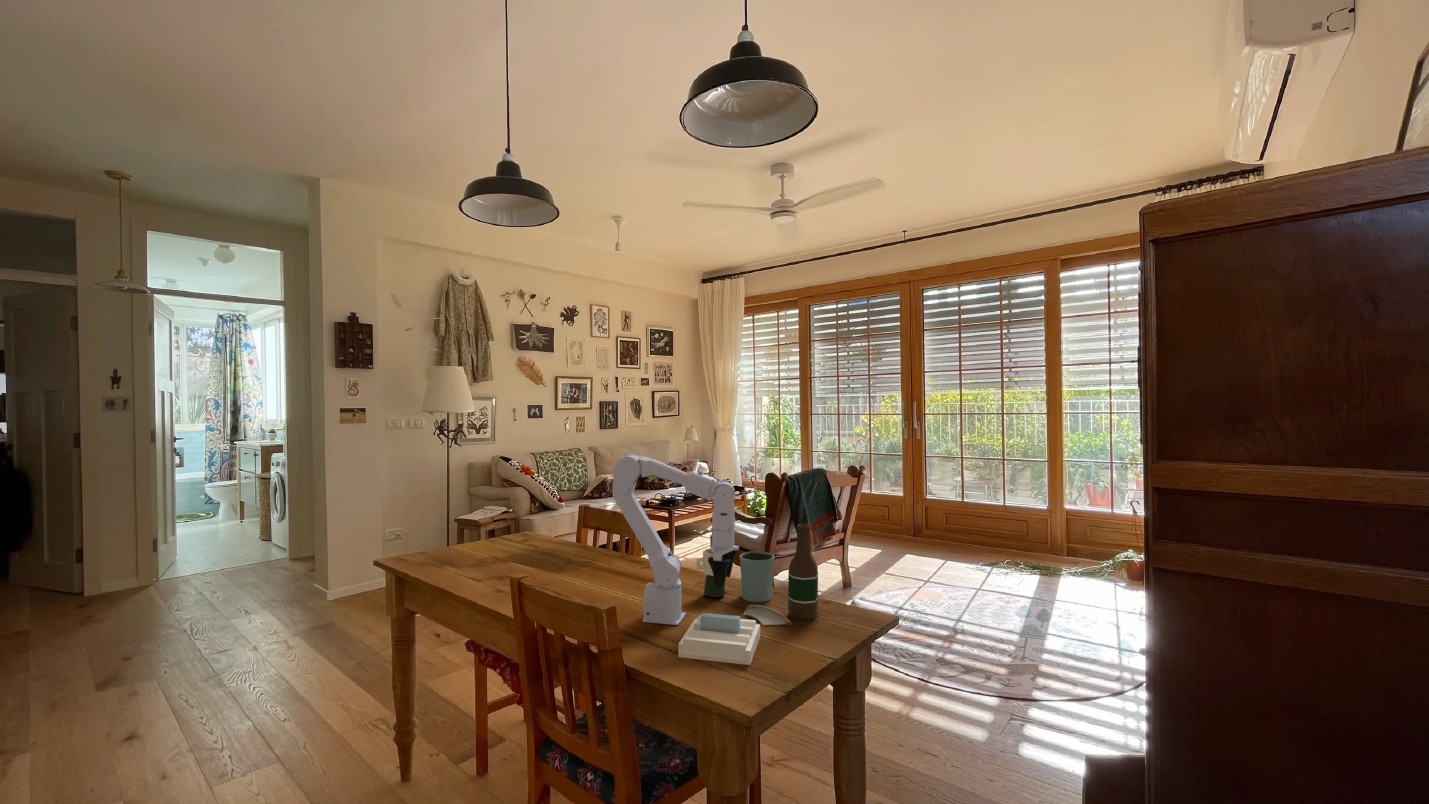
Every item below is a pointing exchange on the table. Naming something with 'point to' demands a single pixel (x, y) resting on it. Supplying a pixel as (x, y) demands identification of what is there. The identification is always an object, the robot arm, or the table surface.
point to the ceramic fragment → (766, 616)
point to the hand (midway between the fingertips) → (723, 581)
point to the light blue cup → (757, 576)
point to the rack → (721, 643)
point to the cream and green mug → (709, 576)
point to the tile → (720, 623)
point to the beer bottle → (803, 578)
